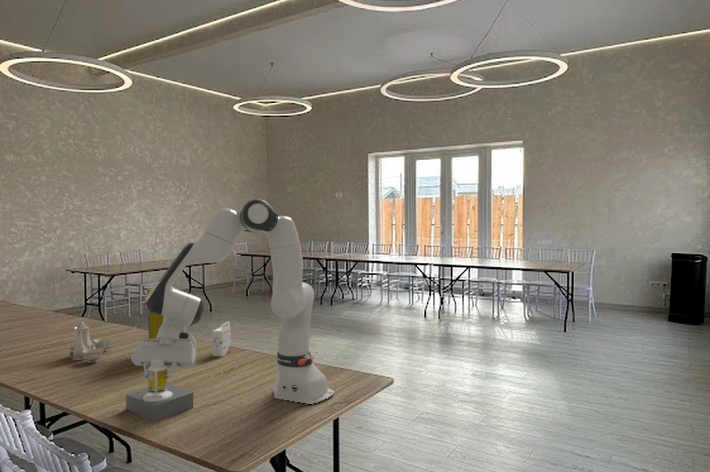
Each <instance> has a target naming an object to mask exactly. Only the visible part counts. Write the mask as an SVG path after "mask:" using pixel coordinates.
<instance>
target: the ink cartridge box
mask: <svg viewBox="0 0 710 472" xmlns="http://www.w3.org/2000/svg"><path fill="white" fill-rule="evenodd" d="M231 333H232V332H231V322H230V320H228V321H226V322H223V323H222V324H221V326H219V327H218V328H216V329H214V330H212V356H213V357H220V358H222V357H224V356H226V355H228V354H229V353H231V349H232V348H231V347H232V346H231V345H232V343H231V342H232V341H231V337H232V336H231V335H232V334H231Z"/></svg>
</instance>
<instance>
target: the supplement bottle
mask: <svg viewBox="0 0 710 472" xmlns="http://www.w3.org/2000/svg"><path fill="white" fill-rule="evenodd" d="M166 371H168V366H166V365H164V359H154V360H152V361H151V366H150V367H149V368H148V378H147V379H148V380H147V381H148V386H147V388H148V391H149V393H151V394H161V393H164V392H165V391H166V390H167V383H168V378H166V377H165V374H166Z"/></svg>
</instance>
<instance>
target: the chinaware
mask: <svg viewBox="0 0 710 472" xmlns="http://www.w3.org/2000/svg"><path fill="white" fill-rule="evenodd" d="M90 328H91V326H90V325H87V324H86V323H85V322H84V321H80V323H79V324H78V325H77V326H74V327H73V330H74V339H73V342H72V345H71V346H70V348H69V349H68V351H67V354H68V355H69V356H70V357H71V358H70V360H72V359H73V360H72V361H82V360H83V359H84V360H83V362H84V363H89V364H95V362H96V363H98V360H100V359H101V357H102V356H103V354H104V351H105V352H107V350H108V349H109V348H110V347H111V346H112V343H113V341H114V338H113V337H109V338H107V337H101V338H99V339H96V338H95V339H93V340H91V337H90Z"/></svg>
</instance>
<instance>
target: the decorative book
mask: <svg viewBox="0 0 710 472" xmlns="http://www.w3.org/2000/svg"><path fill="white" fill-rule="evenodd" d="M152 288H153V287H152ZM152 288H151V287H150V288H149V287H148V288H147V289H146V292H147V293H146V294H147V295H148V293H149V292H150V290H151V289H152ZM163 318H164V316H163V315H158V314H154V313H151V312H150V311H149V310H148V320H147V321H148V339H156V337H157V334H158V331H159V329H160V326H161V325H162V324H163Z"/></svg>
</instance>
